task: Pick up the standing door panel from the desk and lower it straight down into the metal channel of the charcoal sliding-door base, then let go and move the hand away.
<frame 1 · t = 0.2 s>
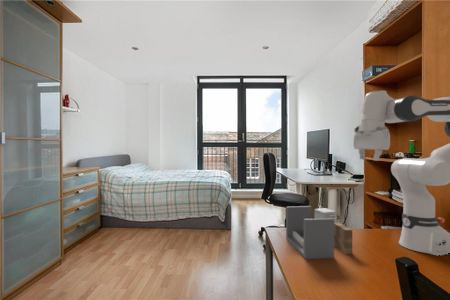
hand: (368, 159, 107), 39 cm above the table, tool pointing down, fingers open, 8 cm apart
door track: (307, 247, 109), on the table
door panel: (340, 248, 108), on the table
supplement box: (324, 235, 124), on the table
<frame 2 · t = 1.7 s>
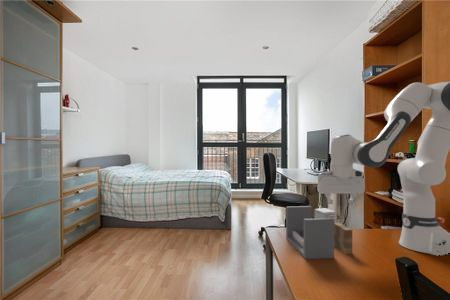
hand: (340, 203, 108), 19 cm above the table, tool pointing down, fingers open, 8 cm apart
nothing on the table moved.
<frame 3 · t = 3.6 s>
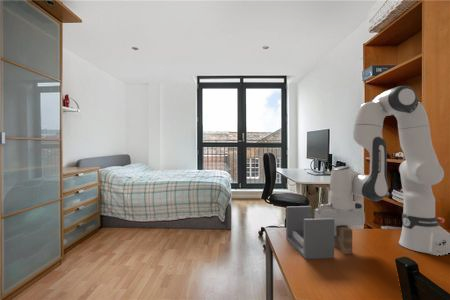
hand: (340, 235, 108), 6 cm above the table, tool pointing down, fingers closed on door panel, 3 cm apart
door panel: (340, 247, 108), on the table, touching gripper
everything else where it was.
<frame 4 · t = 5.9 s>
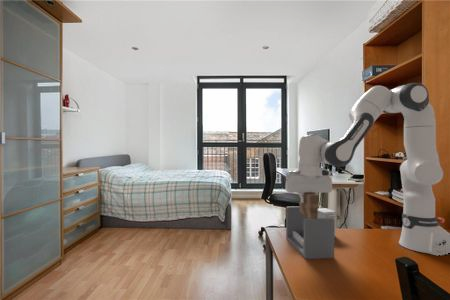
hand: (308, 202, 109), 20 cm above the table, tool pointing down, fingers closed on door panel, 3 cm apart
door panel: (307, 215, 109), point 14 cm above the table, touching gripper
everything else where it was.
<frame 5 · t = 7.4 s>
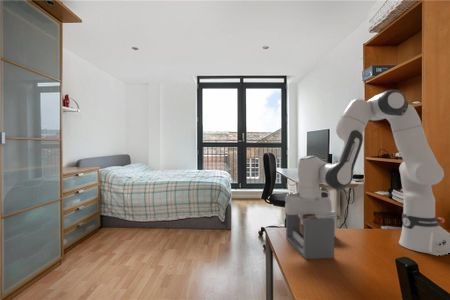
hand: (308, 224, 109), 10 cm above the table, tool pointing down, fingers closed on door panel, 3 cm apart
door panel: (307, 236, 109), point 5 cm above the table, touching gripper
everything else where it was.
when the fingers open (8 cm above the table, at t = 8.6 s): door panel stays where it is, resting on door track.
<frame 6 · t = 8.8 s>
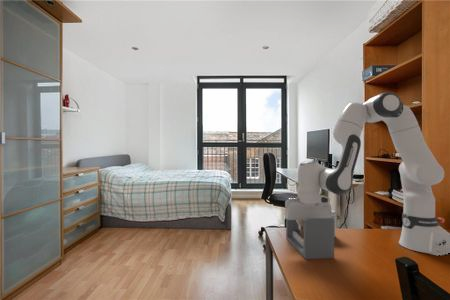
hand: (308, 229, 109), 8 cm above the table, tool pointing down, fingers open, 5 cm apart
door panel: (308, 243, 109), point 1 cm above the table, touching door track
everything else where it was.
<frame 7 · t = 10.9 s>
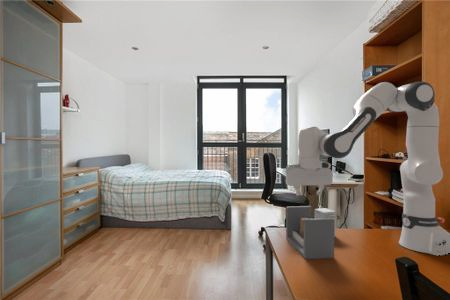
hand: (308, 195, 109), 23 cm above the table, tool pointing down, fingers open, 8 cm apart
nothing on the table moved.
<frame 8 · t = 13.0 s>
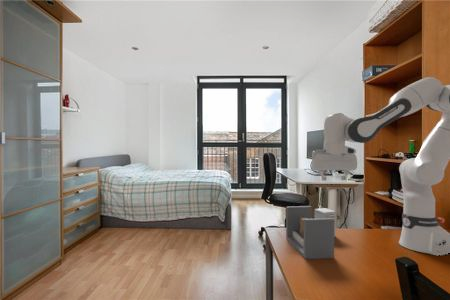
hand: (333, 180, 112), 29 cm above the table, tool pointing down, fingers open, 8 cm apart
nothing on the table moved.
at the end: door panel 0.1 cm off-centre on the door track, point 1.5 cm above the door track's base; door panel tilted 0°; the gripper is holding nothing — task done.
